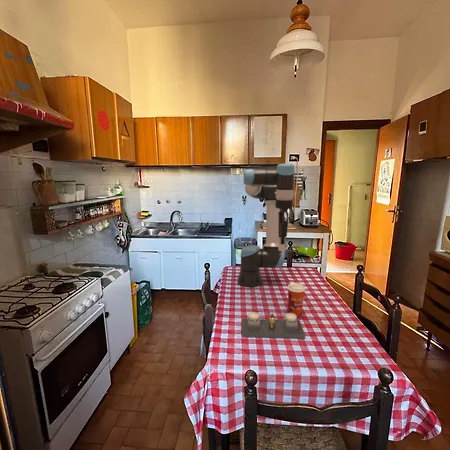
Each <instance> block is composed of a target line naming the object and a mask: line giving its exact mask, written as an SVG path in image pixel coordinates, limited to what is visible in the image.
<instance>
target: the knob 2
mask: <svg viewBox="0 0 450 450" xmlns="http://www.w3.org/2000/svg"><path fill="white" fill-rule="evenodd" d="M284 317H285V319H286V320H287V321H288V322H295V321H296V320H298V318H297V316H296V315H295V314H293V313H285V316H284Z"/></svg>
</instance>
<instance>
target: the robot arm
mask: <svg viewBox="0 0 450 450" xmlns="http://www.w3.org/2000/svg"><path fill="white" fill-rule="evenodd" d="M295 172H296V171H295V165H294V164H293V163H279V164H277V166H276V169H275V168H271V169H270V168H269V169H268V168H261V169H260V168H259V169H258V168H247V169H244V170H243V185H244V190H245V192H246V194H247V195H248V196H249V197H251V198H254V199H258V200H264V202H263V203H264V204H265V205H266V211H265V212H266V216H265V217H266V218H265V220H266V221H265V224H266V225H265V243H264V244H263V247H262V248H261V247H260V246H259V245H256V244H255V245H253V244H252V245H246V246H244V247H242V248H241V249H240V251H241V252H240V271H239V274H238V276H237V284H238V285H240V286H242V287H246V288H256V287H260V286H261V285H262V281H263V280H262V277H261V274H260V273H261V272H260V268H264V269H265V268H266V269H267V268H269V269H272V268H273V269H280V268H282V267H283V266H284V263H285V262H284V261H285V258H286V257H285V256H286V238H287V236H288V228H289V227H288V226H289V219H290V218H289V217H290V216H289V212H288V210H291V209H293V205H294V204H293V203H294V201H293V199H294V183H295V181H294V180H295Z"/></svg>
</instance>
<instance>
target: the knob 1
mask: <svg viewBox="0 0 450 450" xmlns="http://www.w3.org/2000/svg"><path fill="white" fill-rule="evenodd" d="M248 318H249V319H250V320H251V321H256V320H258V319H260V314H259V313H258V312H255V311H251V312H249V313H248V315H247V319H248Z"/></svg>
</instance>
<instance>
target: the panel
mask: <svg viewBox="0 0 450 450" xmlns="http://www.w3.org/2000/svg"><path fill="white" fill-rule="evenodd" d="M285 317H286V316H284V317H283V318H284V319H275V327H274V328H271V327H269V318H266V319H265V318H259V319H258V320H256V321H251V320H250V319H249V318H248V317H247V318H241V336H242V337H243V338H267V339H268V338H269V339H271V338H272V339H273V338H274V339H301V340H305V339H306V333H305V330H304V328H303V326H302V323H301V321H300V320H299V319H296V321H295V322H288V321H287V320H286V319H285Z"/></svg>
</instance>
